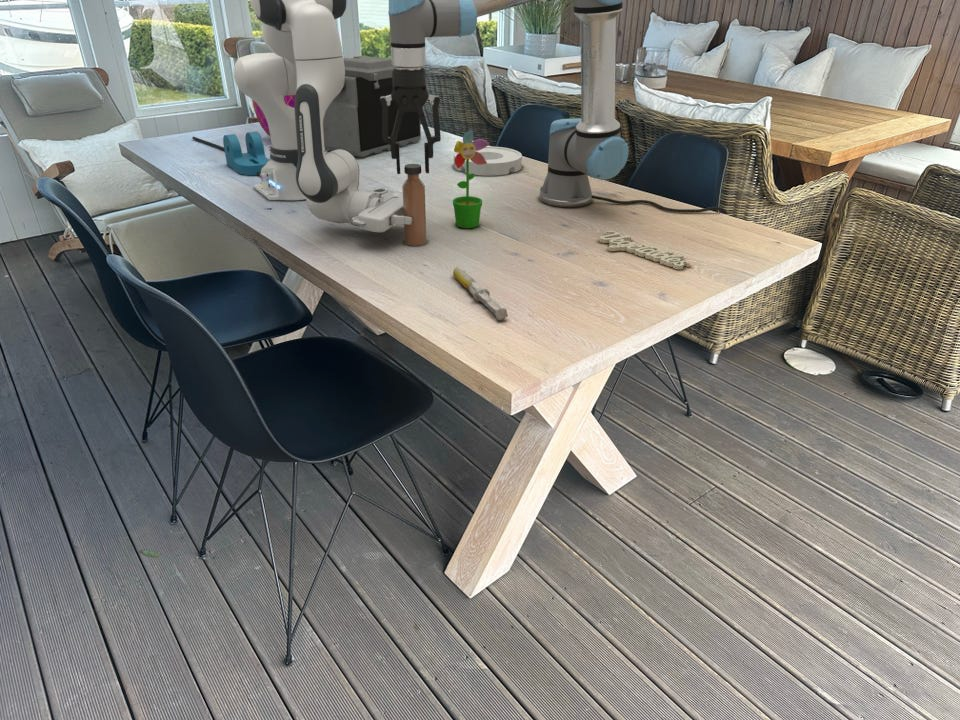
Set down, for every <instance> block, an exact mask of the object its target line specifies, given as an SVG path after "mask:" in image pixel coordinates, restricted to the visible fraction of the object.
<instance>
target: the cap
mask: <svg viewBox="0 0 960 720" xmlns="http://www.w3.org/2000/svg"><path fill="white" fill-rule="evenodd" d="M403 169H404V170H403V171H404V174H405V175H407V174H408V175H418V174H419V175H420V174H422V165H421V164H419V163H407V164H405V165H404V168H403Z"/></svg>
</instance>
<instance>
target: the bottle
mask: <svg viewBox="0 0 960 720" xmlns="http://www.w3.org/2000/svg"><path fill="white" fill-rule="evenodd" d="M406 175H407V178H406V179H405V181H404V182H403V183H402V186H401V187H402V189H401V190H402V193H403V212H404V216H406V215H409V216H413V223H412V224H410V225H408V224H403V228H404V229H403V230H404V231H403V232H404V243H405V245H407V246H412V247H418V246H424V245H426V244H427V215H426V210H427V209H426V186H425V185H426V184H425V183H424V182H423V181H422V179H421V178H420V174H418V175H408V174H406Z"/></svg>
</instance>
